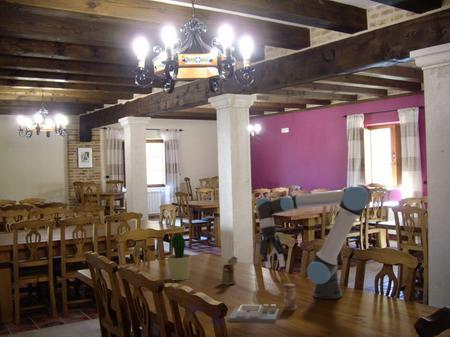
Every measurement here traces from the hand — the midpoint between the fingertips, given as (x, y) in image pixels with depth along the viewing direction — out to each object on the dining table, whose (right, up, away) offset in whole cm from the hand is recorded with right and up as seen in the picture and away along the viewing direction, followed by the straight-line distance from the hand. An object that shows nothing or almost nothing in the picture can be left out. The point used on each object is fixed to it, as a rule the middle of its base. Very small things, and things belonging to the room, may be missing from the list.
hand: (275, 267), depth 252 cm
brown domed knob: (+6, -18, -12) cm, 22 cm away
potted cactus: (-56, -20, +63) cm, 87 cm away
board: (-12, -19, -21) cm, 31 cm away
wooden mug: (-23, -19, +43) cm, 52 cm away
